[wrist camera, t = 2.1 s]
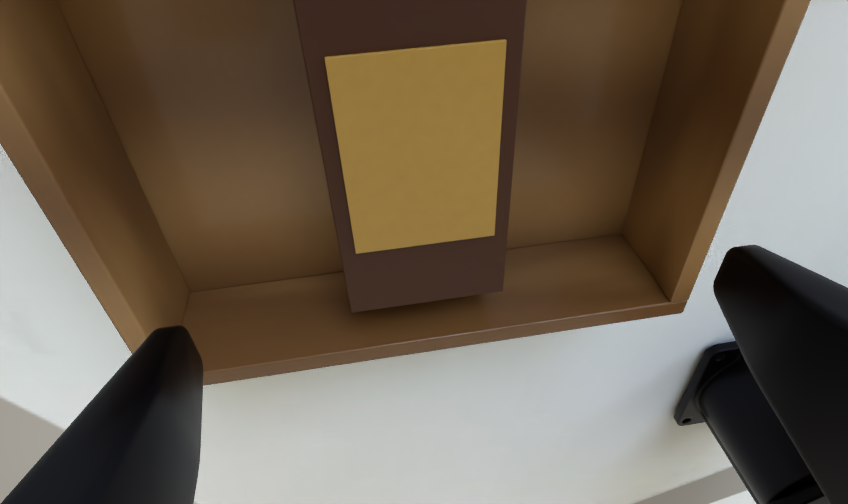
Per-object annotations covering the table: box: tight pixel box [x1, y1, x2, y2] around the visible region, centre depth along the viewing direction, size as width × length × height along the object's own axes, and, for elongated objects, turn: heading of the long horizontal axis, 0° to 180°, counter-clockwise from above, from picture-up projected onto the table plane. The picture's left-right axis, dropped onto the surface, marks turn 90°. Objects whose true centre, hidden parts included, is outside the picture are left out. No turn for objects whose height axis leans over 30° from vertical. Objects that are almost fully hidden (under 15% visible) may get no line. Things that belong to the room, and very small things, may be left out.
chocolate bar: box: [293, 0, 527, 313], centre depth 13 cm, size 10×4×3 cm, turn 2°
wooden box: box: [0, 0, 811, 386], centre depth 14 cm, size 13×16×4 cm
